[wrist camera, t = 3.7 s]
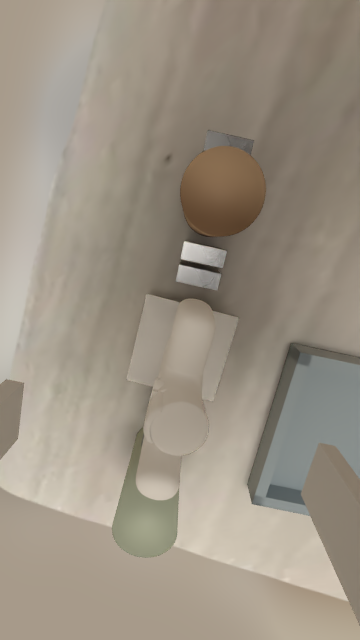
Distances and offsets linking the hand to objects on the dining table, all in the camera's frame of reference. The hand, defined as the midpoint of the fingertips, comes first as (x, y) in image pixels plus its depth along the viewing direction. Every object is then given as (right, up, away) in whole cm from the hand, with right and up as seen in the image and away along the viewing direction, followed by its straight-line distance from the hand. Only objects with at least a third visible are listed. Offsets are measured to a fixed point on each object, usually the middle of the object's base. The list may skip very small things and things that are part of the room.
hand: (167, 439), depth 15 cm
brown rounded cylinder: (+3, +14, +12) cm, 19 cm away
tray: (+15, -5, +17) cm, 23 cm away
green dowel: (-2, -7, +18) cm, 19 cm away
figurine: (+1, +4, +15) cm, 16 cm away
